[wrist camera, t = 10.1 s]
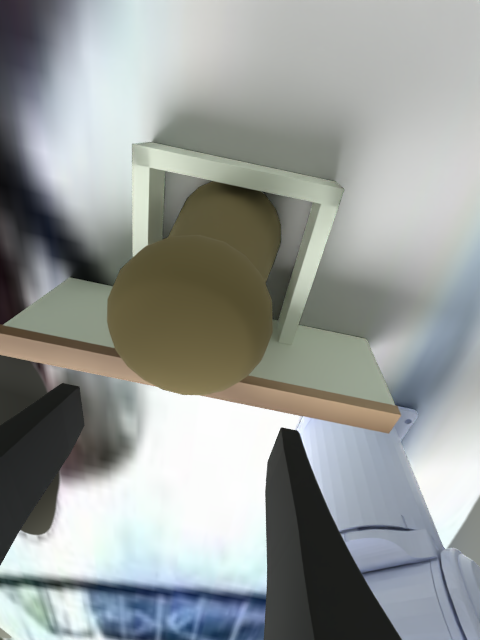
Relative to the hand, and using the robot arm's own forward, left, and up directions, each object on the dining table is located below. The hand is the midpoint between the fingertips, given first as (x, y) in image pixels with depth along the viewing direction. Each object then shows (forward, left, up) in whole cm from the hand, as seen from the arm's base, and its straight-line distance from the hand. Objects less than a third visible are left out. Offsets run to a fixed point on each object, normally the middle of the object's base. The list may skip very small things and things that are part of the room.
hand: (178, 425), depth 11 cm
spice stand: (+3, 0, -10) cm, 11 cm away
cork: (+4, 0, -11) cm, 11 cm away
